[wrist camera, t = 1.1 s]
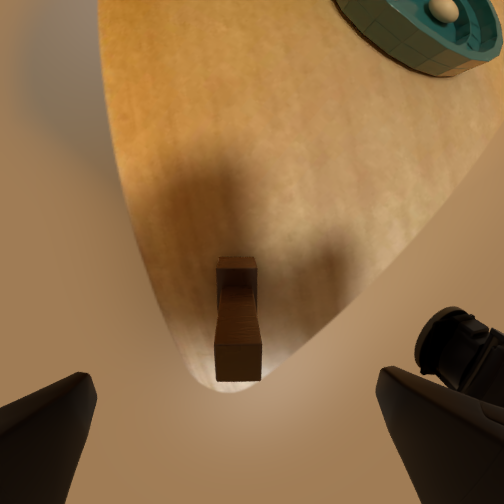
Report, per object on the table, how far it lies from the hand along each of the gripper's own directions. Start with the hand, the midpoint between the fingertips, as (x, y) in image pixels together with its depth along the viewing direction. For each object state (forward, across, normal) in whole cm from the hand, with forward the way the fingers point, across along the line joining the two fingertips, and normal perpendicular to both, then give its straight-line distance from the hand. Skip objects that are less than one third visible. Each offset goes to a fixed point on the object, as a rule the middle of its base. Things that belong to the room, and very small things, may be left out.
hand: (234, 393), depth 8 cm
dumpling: (+11, -19, -24) cm, 32 cm away
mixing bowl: (+13, -15, -24) cm, 31 cm away
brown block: (+13, 0, +1) cm, 13 cm away
